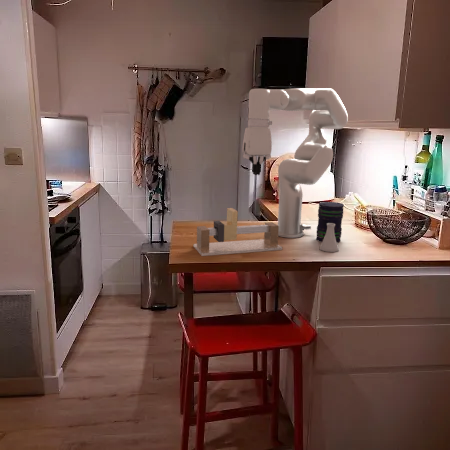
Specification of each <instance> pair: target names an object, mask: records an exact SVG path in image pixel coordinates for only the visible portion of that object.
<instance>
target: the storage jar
mask: <svg viewBox="0 0 450 450" xmlns="http://www.w3.org/2000/svg"><path fill="white" fill-rule="evenodd" d="M344 207H345V206H344V203H341V202H335V201H320V202H319V203H318V210H317V218H318V220H317V226H316V239H315V240H316V241H317V242H320V243H322V241H323V239H324V237H325V235H326V231H327V223H333V224H335V226H334V234H335V238H336V242H337V244H339V243H341V237H342V234H343V233H342V232H343V231H342V230H343V229H342V224H343V223H342V222H343V221H342V220H343V218H344Z"/></svg>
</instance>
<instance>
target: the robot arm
mask: <svg viewBox="0 0 450 450" xmlns="http://www.w3.org/2000/svg"><path fill="white" fill-rule="evenodd" d="M270 111H286V112H290V111H291V112H300V111H301V112H302V111H303V112H304V111H305V112H306V111H311V112H310V113H309V116H308V117H309V118H308V135H307V136H306V137H305V138H304V139H303V141H302V142H301V144H300V145H299V146H298V147H297V148H296V150H295V152H294V157H293V158H286V159H284V160H282V161H280V163H279V165H278V167H277V174H278V181H279V183H278V185H279V192H278V193H279V195H278V212H277V213H278V215H277V225H278V226H279V230H278V237H282V238H289V239H291V238H292V239H296V238H297V239H298V238H301V237H304V234H305V233H304V231H305V230H306V231H307V230H312V229H311V228H312V226H311V225H310V224H305V223H304V224H303V223H301V222H302V207H303V206H302V205H303V196H304V195H303V190H302V187H301V185H306V186H312V185H314V184H316V183H318V182H319V180H320V179H321V177H322V176H323V175H324V174H325V172H326V171H327V170H328V168H329V167H330V166H331V164H332V161H333V158H334V150H333V148H332V147H331V146H330V145H329V144H327V137H326V134H325V133H324V129H325V130H327V129H328V130H342V129H343V128H345V127H346V126H347V124H348V120H349V116H348V112H347V110H346V107H345V105H344V104H343V102H342V100H341V98H340V96H339V95H338V94H337V92H336V91H335V90H334V89H333V88H285V89H277V88H276V89H272V88H271V89H267V88H252V89H250V90H249V93H248V116H247V117H248V120H247V127H245V130H244V133H243V140H242V141H243V142H242V154H243V155H242V158H243V159H246V160H248V161H250V163H251V172H252V174H253V175H254V176H260V175H261V173H262V165H263V163H264V162H265V161H266V160H268V159H271V157H272V155H271V154H272V145H273V144H272V132H271V128H269V127H270V126H272V124H273V121H272V120H270Z"/></svg>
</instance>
